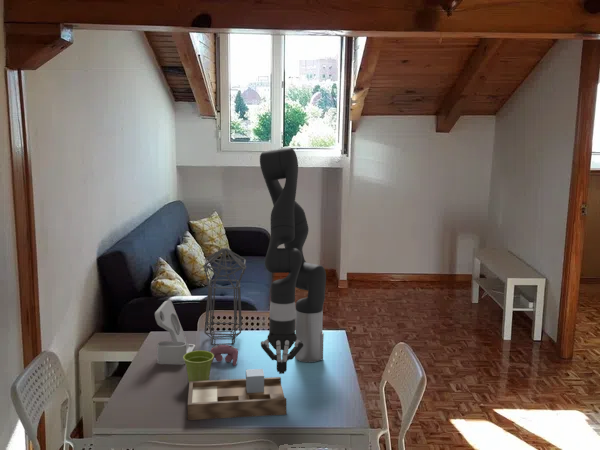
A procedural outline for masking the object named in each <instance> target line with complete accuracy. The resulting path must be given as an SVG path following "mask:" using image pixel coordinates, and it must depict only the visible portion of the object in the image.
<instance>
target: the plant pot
mask: <svg viewBox="0 0 600 450" xmlns="http://www.w3.org/2000/svg"><path fill="white" fill-rule="evenodd" d="M213 358H214V355H213V353H211V352H210V351H208V350H194V351H192V352H188V353H186V354H185V355H184V356H183V359H184V360H185V363H186V364H185V367H186V372H187V373H186V374H187V380H188V383H189V382H190V381H207V380H210V374H211V369H212V368H211V367H212V364H213V362H212V359H213ZM213 360H214V359H213ZM211 363H212V364H211Z"/></svg>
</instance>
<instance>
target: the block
mask: <svg viewBox="0 0 600 450" xmlns="http://www.w3.org/2000/svg"><path fill="white" fill-rule="evenodd" d="M264 378H265V373H264V369H263V368H254V369H252V368H251V369H245V379H246V390H247V393H256V392H264Z"/></svg>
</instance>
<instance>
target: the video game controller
mask: <svg viewBox="0 0 600 450" xmlns="http://www.w3.org/2000/svg"><path fill="white" fill-rule="evenodd" d="M209 352H211V353H213V355H214V358H215V359H214V358H213V359H212V363H211V365H212V364H213V361H214V360H215V361H216V362H218V363H221V362H223V359H224V361H225V362H226V363H231V362H232V366H233V367H235V366H236V365H237V363H238V359H239V358H238V356H239V350H238V348H236V347H235V346H233V345H231V344H224V345H214V346H213V347H212V348H211V349H210V351H209ZM223 354H225V356H224V357H223Z"/></svg>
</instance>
